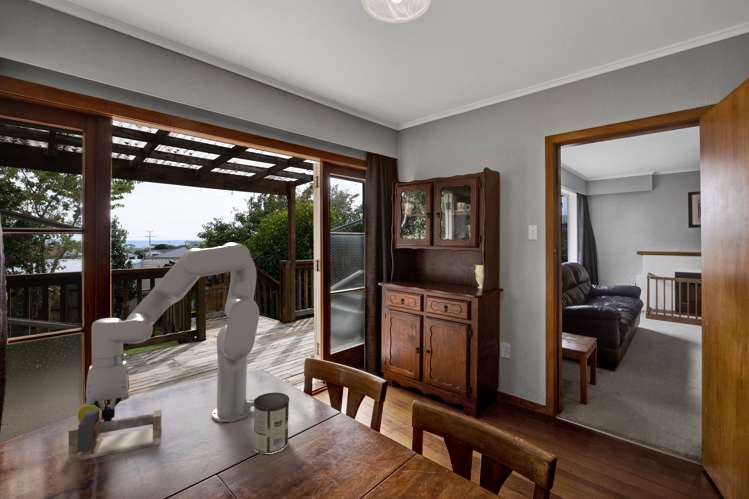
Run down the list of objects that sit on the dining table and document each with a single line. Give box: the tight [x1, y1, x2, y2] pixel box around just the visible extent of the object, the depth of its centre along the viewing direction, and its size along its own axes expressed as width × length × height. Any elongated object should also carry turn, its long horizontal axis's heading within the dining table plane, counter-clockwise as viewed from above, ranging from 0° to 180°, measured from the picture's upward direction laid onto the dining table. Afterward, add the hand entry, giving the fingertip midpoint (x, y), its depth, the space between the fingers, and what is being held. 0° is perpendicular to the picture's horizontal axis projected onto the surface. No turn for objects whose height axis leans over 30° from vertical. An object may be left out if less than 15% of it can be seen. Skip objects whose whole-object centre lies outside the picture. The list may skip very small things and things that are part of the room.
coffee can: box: [253, 391, 290, 453], centre depth 111 cm, size 10×10×14 cm
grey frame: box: [78, 408, 100, 452], centre depth 105 cm, size 3×9×8 cm, turn 26°
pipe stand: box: [65, 409, 163, 463], centre depth 108 cm, size 22×9×8 cm, turn 116°
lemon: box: [77, 403, 101, 423], centre depth 118 cm, size 6×6×8 cm
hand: (108, 420), depth 110 cm, fingers closed
